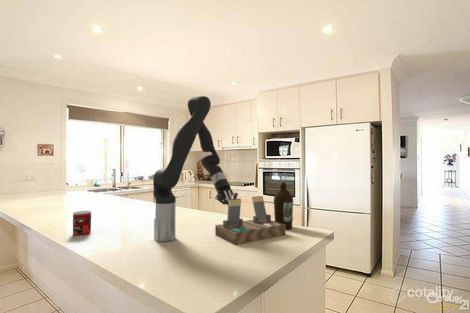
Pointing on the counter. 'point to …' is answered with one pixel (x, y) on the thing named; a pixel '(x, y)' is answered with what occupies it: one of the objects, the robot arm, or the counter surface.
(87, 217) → the canned food
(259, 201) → the far lever
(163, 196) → the robot arm
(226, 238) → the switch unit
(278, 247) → the counter surface
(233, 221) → the near lever
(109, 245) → the counter surface
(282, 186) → the olive oil
